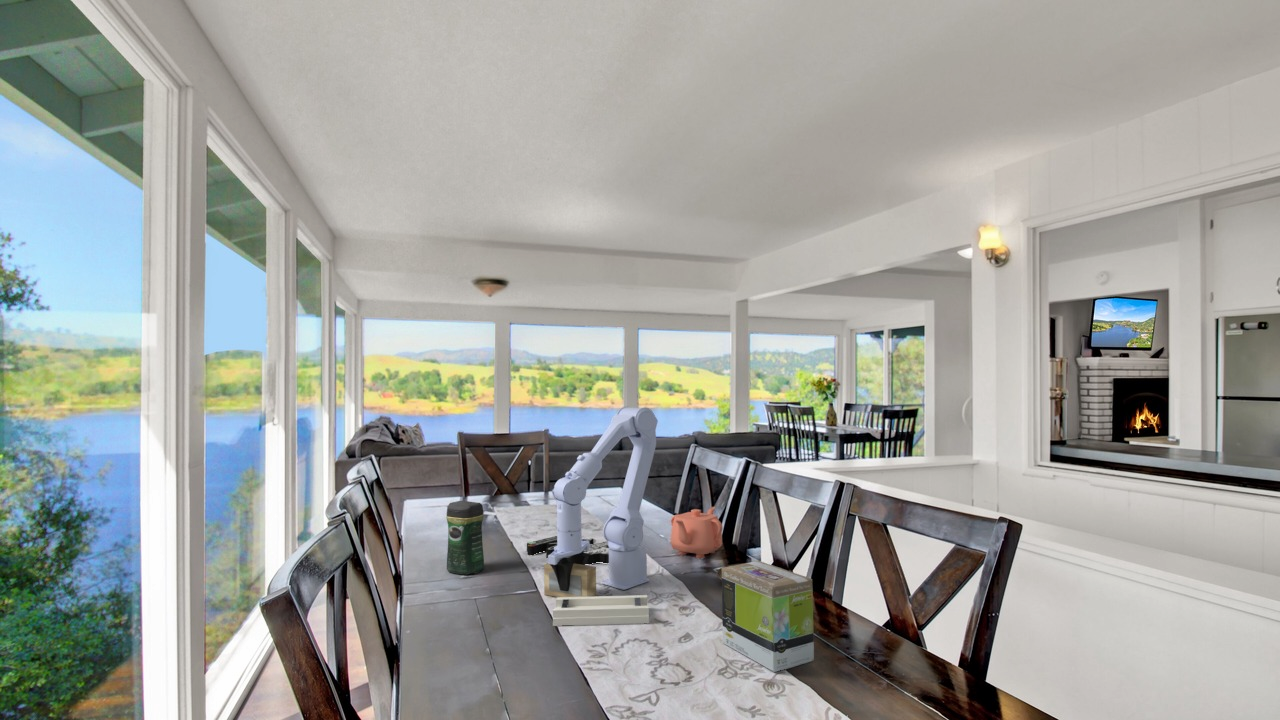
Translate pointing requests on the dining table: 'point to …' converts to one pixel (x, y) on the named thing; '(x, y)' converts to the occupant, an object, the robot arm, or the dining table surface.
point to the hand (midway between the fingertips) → (569, 587)
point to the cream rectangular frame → (601, 610)
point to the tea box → (768, 614)
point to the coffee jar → (465, 537)
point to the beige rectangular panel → (571, 582)
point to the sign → (595, 552)
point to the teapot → (696, 532)
